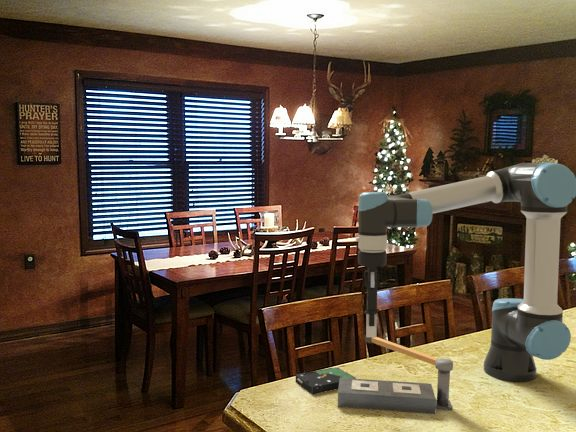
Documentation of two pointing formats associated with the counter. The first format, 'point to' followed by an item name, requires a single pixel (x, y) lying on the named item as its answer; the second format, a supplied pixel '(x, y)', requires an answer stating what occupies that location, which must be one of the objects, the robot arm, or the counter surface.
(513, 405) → the counter surface
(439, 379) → the pivot post
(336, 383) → the disk drive
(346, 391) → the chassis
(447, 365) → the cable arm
